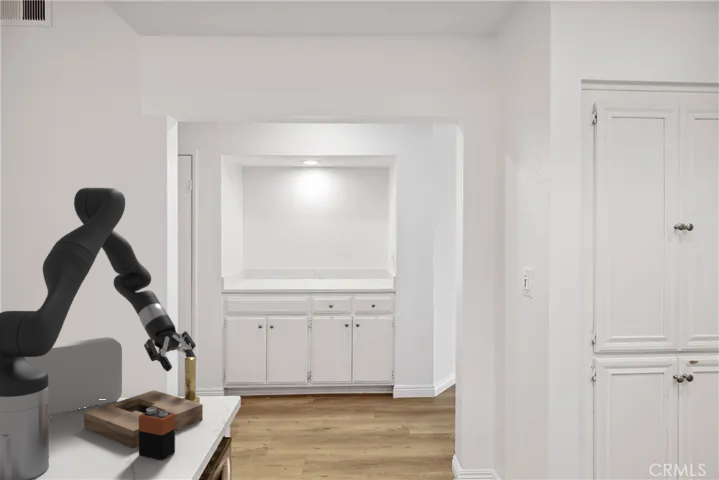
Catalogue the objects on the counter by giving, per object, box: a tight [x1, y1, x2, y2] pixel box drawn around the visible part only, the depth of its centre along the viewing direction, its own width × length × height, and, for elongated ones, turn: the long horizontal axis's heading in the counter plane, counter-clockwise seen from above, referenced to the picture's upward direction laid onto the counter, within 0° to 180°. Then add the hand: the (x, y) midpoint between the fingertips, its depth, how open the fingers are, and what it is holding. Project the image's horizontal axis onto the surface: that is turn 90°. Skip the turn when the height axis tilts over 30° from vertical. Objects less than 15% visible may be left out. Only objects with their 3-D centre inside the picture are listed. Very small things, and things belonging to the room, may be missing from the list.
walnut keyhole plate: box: [83, 389, 204, 449], centre depth 127 cm, size 20×20×4 cm
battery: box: [138, 407, 176, 461], centre depth 111 cm, size 4×7×10 cm, turn 70°
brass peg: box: [183, 357, 201, 404], centre depth 142 cm, size 5×5×13 cm
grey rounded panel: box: [25, 336, 123, 416], centre depth 137 cm, size 29×8×18 cm, turn 129°
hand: (182, 366), depth 143 cm, fingers open, 8 cm apart
